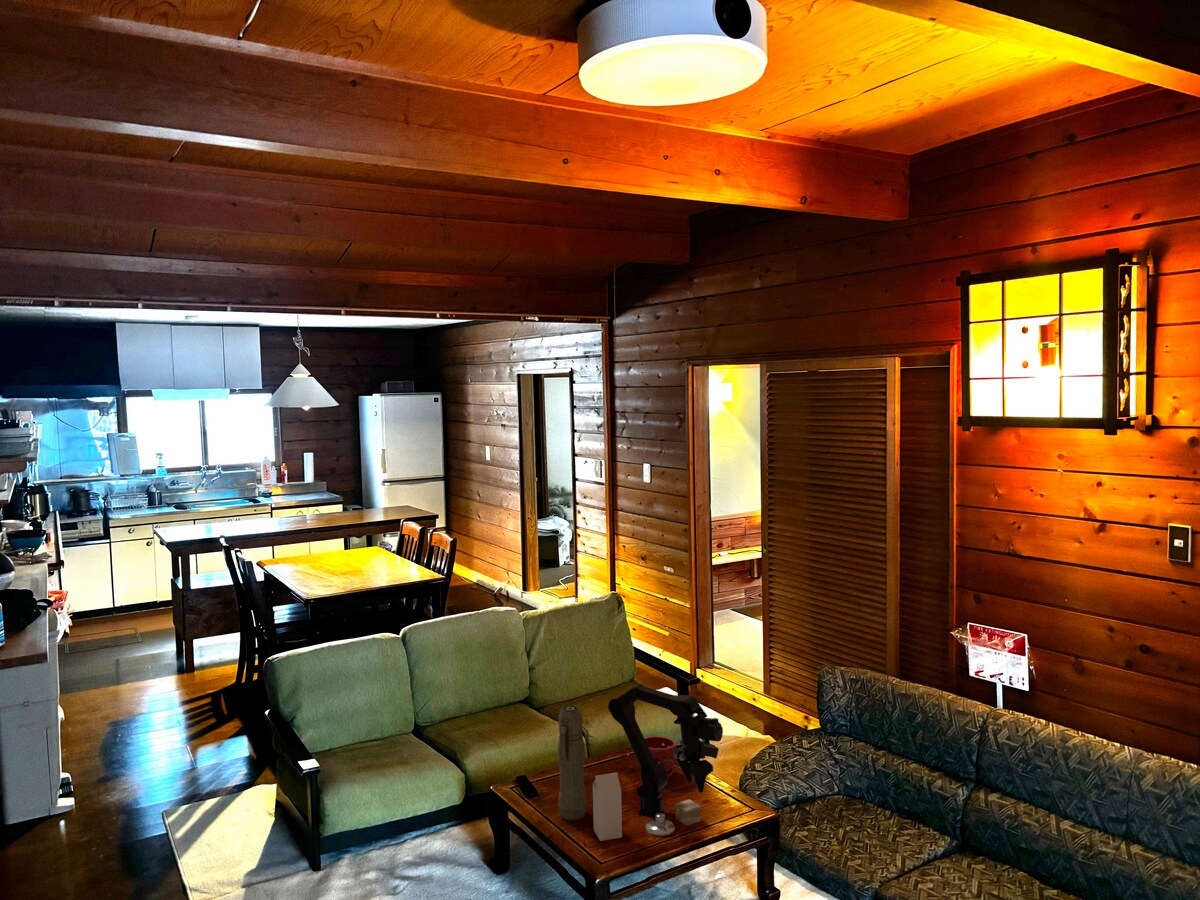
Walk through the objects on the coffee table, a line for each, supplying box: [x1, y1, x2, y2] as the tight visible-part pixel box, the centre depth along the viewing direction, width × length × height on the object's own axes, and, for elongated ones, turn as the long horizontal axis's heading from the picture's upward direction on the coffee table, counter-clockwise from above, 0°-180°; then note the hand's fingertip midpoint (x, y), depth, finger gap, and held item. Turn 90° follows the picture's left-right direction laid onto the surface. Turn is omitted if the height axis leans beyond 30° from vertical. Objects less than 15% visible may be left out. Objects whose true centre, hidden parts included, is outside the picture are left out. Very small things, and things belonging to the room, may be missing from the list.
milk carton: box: [592, 772, 623, 842], centre depth 274 cm, size 7×7×19 cm
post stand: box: [645, 812, 676, 837], centre depth 277 cm, size 9×9×4 cm
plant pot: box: [644, 735, 677, 778], centre depth 317 cm, size 13×13×12 cm
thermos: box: [557, 705, 587, 821], centre depth 287 cm, size 9×12×35 cm
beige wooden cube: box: [674, 798, 701, 827], centre depth 282 cm, size 6×6×5 cm
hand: (695, 787), depth 279 cm, fingers open, 9 cm apart
